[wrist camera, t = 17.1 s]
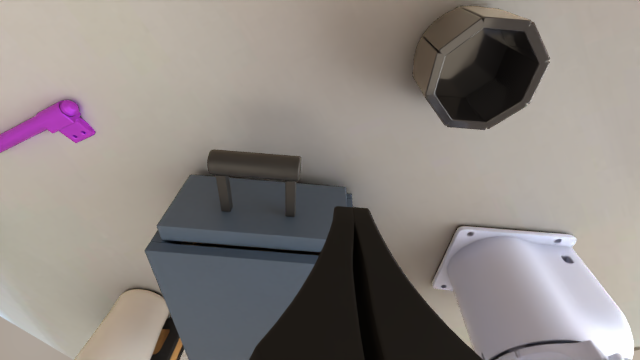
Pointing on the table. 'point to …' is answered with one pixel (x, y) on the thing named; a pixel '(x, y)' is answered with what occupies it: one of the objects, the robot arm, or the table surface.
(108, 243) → the table surface
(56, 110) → the purple bicycle pump
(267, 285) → the cabinet
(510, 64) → the grey hollow octagonal cup
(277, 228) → the drawer
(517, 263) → the robot arm
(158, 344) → the ammunition clip
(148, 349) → the drinking glass
